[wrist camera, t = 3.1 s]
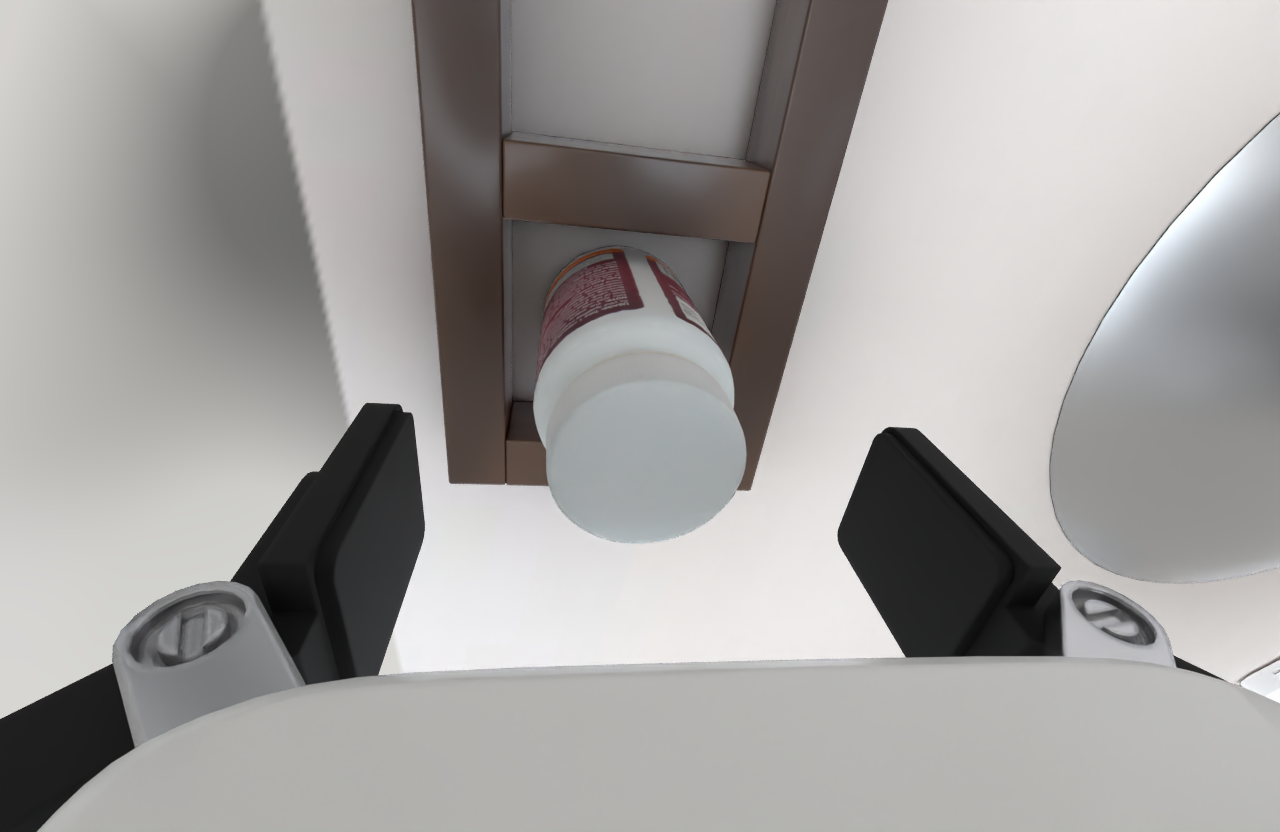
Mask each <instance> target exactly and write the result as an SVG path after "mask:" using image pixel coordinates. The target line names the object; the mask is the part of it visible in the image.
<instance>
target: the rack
mask: <svg viewBox="0 0 1280 832" xmlns="http://www.w3.org/2000/svg"><path fill="white" fill-rule="evenodd" d="M887 3H888V0H777V4H776V9H775V14H774V19H773V24H772V29H771V34H770V39H769V44H768V49H767V54H766V59H765V64H764V69H763V75H762V80H761V85H760V90H759V95H758V100H757V105H756V110H755V115H754V120H753V125H752V130H751V135H750V140H749V145H748V150H747V156H746V161H745V160H742V159H734V158H725V157H717V156H709V155H701V154H693V153H684V152H676V151H668V150H660V149H652V148H644V147H635V146H627V145H619V144H611V143H603V142H595V141H586V140H578V139H570V138H562V137H554V136H545V135H537V134H529V133H521V132H512V133H511V0H411V4H412V17H413V30H414V42H415V55H416V68H417V81H418V93H419V106H420V119H421V131H422V144H423V157H424V170H425V182H426V195H427V208H428V221H429V233H430V246H431V259H432V272H433V284H434V297H435V310H436V323H437V335H438V348H439V361H440V374H441V386H442V399H443V412H444V424H445V437H446V450H447V463H448V475H449V482H450V483H451V484H489V485H504V484H505V483H507V485H527V486H549V484H548V479H547V474H546V448H545V447H544V445H543V443H542V441H541V438H540V436H539V433H538V430H537V426H536V423H535V417H534V411H533V402H513V403H512V220H520V221H531V222H541V223H551V224H561V225H572V226H582V227H592V228H602V229H613V230H623V231H633V232H643V233H654V234H664V235H674V236H685V237H695V238H705V239H715V240H726V241H730V242H729V247H728V252H727V257H726V262H725V267H724V272H723V277H722V282H721V287H720V292H719V297H718V302H717V307H716V312H715V317H714V323H713V328H712V333H711V335H712V336H713V338H714V339H715V341H716V343H717V344H718V345H719V347H720V348H721V350H722V352H723V354H724V356H725V358H726V360H727V362H728V364H729V367H730V369H731V373H732V377H733V384H734V408H733V410H734V412H735V414H736V416H737V418H738V420H739V423H740V425H741V427H742V430H743V433H744V437H745V442H746V454H747V456H746V465H745V471H744V474H743V477H742V480H741V482H740V484H739V486H738V488H737V490H745V491H749V490H751V486H752V483H753V479H754V476H755V472H756V468H757V465H758V461H759V458H760V454H761V451H762V447H763V444H764V440H765V436H766V433H767V429H768V426H769V422H770V419H771V415H772V412H773V408H774V404H775V401H776V397H777V394H778V390H779V387H780V383H781V380H782V376H783V372H784V369H785V365H786V362H787V358H788V355H789V351H790V348H791V344H792V340H793V337H794V333H795V330H796V326H797V323H798V319H799V316H800V312H801V308H802V305H803V301H804V298H805V294H806V291H807V287H808V284H809V280H810V276H811V273H812V269H813V266H814V262H815V259H816V255H817V252H818V248H819V244H820V241H821V237H822V234H823V230H824V227H825V223H826V220H827V216H828V212H829V209H830V205H831V202H832V198H833V195H834V191H835V188H836V184H837V180H838V177H839V173H840V170H841V166H842V163H843V159H844V156H845V152H846V148H847V145H848V141H849V138H850V134H851V131H852V127H853V124H854V120H855V116H856V113H857V109H858V106H859V102H860V99H861V95H862V92H863V88H864V85H865V81H866V77H867V74H868V70H869V67H870V63H871V60H872V56H873V53H874V49H875V45H876V42H877V38H878V35H879V31H880V28H881V24H882V21H883V17H884V13H885V10H886V6H887Z"/></svg>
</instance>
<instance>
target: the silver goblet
mask: <svg viewBox="0 0 1280 832" xmlns="http://www.w3.org/2000/svg"><path fill="white" fill-rule="evenodd" d="M1050 482H1051V496H1052V500H1053V504H1054V509H1055V513H1056V517H1057V519H1058V521H1059V523H1060V525H1061V527H1062V529H1063V531H1064V533H1065V535H1066V537H1067V538H1068V539H1069V540H1070V542H1071V543H1072V544H1073V545H1074V546H1075V547H1076V549H1077V550H1078V551H1079V552H1080V553H1081V554H1083V555H1084V556H1085V557H1087V558H1088V559H1089V560H1091V561H1092V562H1093V563H1095V564H1096V565H1098V566H1100V567H1102V568H1104V569H1106V570H1108V571H1111V572H1113V573H1115V574H1118V575H1121V576H1125V577H1129V578H1132V579H1136V580H1142V581H1150V582H1158V583H1198V582H1209V581H1219V580H1224V579H1230V578H1236V577H1242V576H1247V575H1252V574H1256V573H1260V572H1264V571H1268V570H1272V569H1276V568H1280V115H1278V116H1277V117H1276V118H1275V119H1274V120H1273V121H1271V122H1270V123H1269V124H1268V125H1267V126H1266V127H1265V128H1264V129H1263V130H1262V131H1261V132H1260V133H1259V134H1258V135H1257V136H1256V137H1255V138H1254V139H1253V140H1252V141H1251V142H1250V143H1249V144H1248V145H1246V146H1245V147H1244V148H1243V149H1242V150H1241V151H1240V152H1239V153H1238V154H1237V155H1236V156H1235V157H1234V158H1233V159H1232V160H1231V161H1230V162H1229V163H1228V164H1227V165H1226V166H1225V167H1224V168H1223V169H1222V170H1221V171H1220V172H1219V173H1218V174H1217V175H1216V176H1215V177H1214V178H1213V179H1212V180H1211V181H1210V182H1209V183H1208V185H1207V186H1206V187H1205V188H1204V189H1203V190H1202V191H1201V192H1200V193H1199V195H1198V196H1197V197H1196V198H1195V199H1194V200H1193V201H1192V202H1191V203H1190V205H1189V206H1188V207H1187V208H1186V209H1185V210H1184V211H1183V212H1182V213H1181V215H1180V216H1179V217H1178V218H1177V219H1176V220H1175V221H1174V222H1173V223H1172V225H1171V226H1170V227H1169V228H1168V230H1167V231H1166V232H1165V234H1164V235H1163V236H1162V237H1161V239H1160V240H1159V241H1158V243H1157V244H1156V245H1155V246H1154V248H1153V249H1152V250H1151V252H1150V253H1149V254H1148V255H1147V257H1146V258H1145V259H1144V261H1143V262H1142V263H1141V264H1140V266H1139V267H1138V268H1137V270H1136V271H1135V272H1134V273H1133V275H1132V276H1131V278H1130V279H1129V281H1128V282H1127V284H1126V286H1125V287H1124V289H1123V290H1122V292H1121V293H1120V295H1119V296H1118V298H1117V299H1116V301H1115V302H1114V304H1113V305H1112V307H1111V308H1110V310H1109V311H1108V313H1107V314H1106V316H1105V317H1104V319H1103V321H1102V322H1101V324H1100V326H1099V328H1098V330H1097V332H1096V334H1095V335H1094V337H1093V339H1092V341H1091V343H1090V345H1089V347H1088V348H1087V350H1086V352H1085V354H1084V356H1083V358H1082V360H1081V361H1080V364H1079V366H1078V368H1077V371H1076V373H1075V376H1074V378H1073V380H1072V383H1071V385H1070V388H1069V390H1068V393H1067V395H1066V397H1065V400H1064V403H1063V406H1062V410H1061V413H1060V417H1059V420H1058V424H1057V427H1056V431H1055V435H1054V440H1053V448H1052V455H1051V463H1050Z"/></svg>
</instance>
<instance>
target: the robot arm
mask: <svg viewBox="0 0 1280 832" xmlns="http://www.w3.org/2000/svg"><path fill="white" fill-rule="evenodd" d="M424 531H425V521H424V512H423V502H422V493H421V484H420V474H419V465H418V456H417V447H416V437H415V428H414V420H413V415H412V413H408V412H403V410H402V407H401V406H400V405H399V404H380V403H366V404H365V405H364V406H363V407H362V409H361V410H360V412H359V413H358V415H357V416H356V418H355V419H354V421H353V422H352V424H351V425H350V427H349V428H348V430H347V431H346V433H345V434H344V436H343V437H342V439H341V440H340V442H339V443H338V445H337V446H336V448H335V449H334V450H333V452H332V453H331V455H330V456H329V458H328V460H327V461H326V462H325V464H324V465H323V467H322V468H321V470H320V471H319V472H310V473H308V474H307V475H306V476H305V477H304V478H303V479H302V480H301V482H300V483H299V484H298V486H297V487H296V489H295V490H294V492H293V493H292V495H291V496H290V497H289V499H288V500H287V501H286V503H285V504H284V506H283V507H282V509H281V510H280V511H279V513H278V514H277V516H276V517H275V518H274V520H273V521H272V523H271V524H270V526H269V527H268V529H267V530H266V531H265V533H264V534H263V535H262V537H261V538H260V540H259V541H258V543H257V544H256V545H255V547H254V548H253V550H252V551H251V553H250V554H249V555H248V557H247V558H246V560H245V561H244V562H243V564H242V565H241V567H240V568H239V570H238V571H237V572H236V574H235V575H234V577H233V579H231V581H230V582H226V581H216V582H209V583H202V584H197V585H194V586H190V587H187V588H184V589H181V590H178V591H175V592H173V593H171V594H169V595H167V596H165V597H163V598H161V599H159V600H157V601H155V602H153V603H152V604H151V605H149V606H148V607H147V608H145V609H144V610H142V611H141V612H139V613H138V614H137V615H135V616H134V617H133V619H132V620H131V621H130V622H129V623H128V624H127V625H126V626H125V627H124V628H123V629H122V630H121V632H120V634H119V636H118V637H117V639H116V641H115V643H114V645H113V654H112V662H113V664H111V665H109V666H107V667H105V668H103V669H101V670H98V671H96V672H95V673H92V674H90V675H89V676H86V677H84V678H83V679H80V680H78V681H76V682H74V683H72V684H70V685H68V686H66V687H64V688H62V689H60V690H58V691H56V692H54V693H52V694H50V695H48V696H46V697H44V698H42V699H40V700H38V701H36V702H34V703H32V704H30V705H28V706H26V707H24V708H22V709H20V710H18V711H16V712H14V713H12V714H10V715H8V716H6V717H4V718H2V719H0V832H1280V703H1278V702H1276V701H1274V700H1272V699H1269V698H1267V697H1265V696H1262V695H1260V694H1258V693H1256V692H1253V691H1251V690H1248V689H1246V688H1243V687H1241V686H1238V685H1235V684H1233V683H1230V682H1227V681H1225V680H1223V679H1221V678H1219V677H1217V676H1215V675H1213V674H1211V673H1209V672H1207V671H1205V670H1203V669H1201V668H1198V667H1196V666H1194V665H1192V664H1190V663H1188V662H1186V661H1184V660H1182V659H1180V658H1178V657H1176V656H1174V655H1173V652H1172V648H1171V645H1170V641H1169V638H1168V636H1167V634H1166V632H1165V630H1164V628H1163V627H1162V626H1161V625H1160V624H1159V623H1158V621H1157V620H1156V619H1155V618H1154V617H1153V616H1152V615H1151V614H1149V613H1148V612H1147V611H1146V610H1145V609H1143V608H1142V607H1141V606H1140V605H1138V604H1136V603H1135V602H1133V601H1132V600H1130V599H1129V598H1127V597H1126V596H1124V595H1122V594H1120V593H1118V592H1116V591H1114V590H1111V589H1109V588H1107V587H1104V586H1101V585H1098V584H1095V583H1091V582H1085V581H1069V582H1068V583H1066V584H1064V585H1063V586H1062V587H1061V589H1060V590H1059V589H1058V588H1057V587H1056V586H1055V585H1054V584H1053V583H1052V581H1053V579H1054V578H1055V576H1056V575H1057V574H1058V572H1059V571H1060V569H1061V567H1060V566H1059V565H1058V564H1057V563H1056V562H1055V561H1054V560H1053V559H1052V558H1051V557H1050V556H1049V555H1048V554H1047V553H1046V552H1045V551H1044V550H1043V549H1042V548H1041V547H1039V546H1038V545H1037V544H1036V543H1035V542H1034V541H1033V540H1032V539H1031V538H1030V537H1029V536H1028V535H1027V534H1026V533H1025V532H1024V531H1023V530H1022V529H1021V528H1020V527H1019V526H1018V525H1017V524H1016V523H1015V522H1014V521H1013V520H1011V519H1010V518H1009V517H1008V516H1007V515H1006V514H1005V513H1004V512H1003V511H1002V510H1001V509H1000V508H999V507H998V506H997V505H996V504H995V503H994V502H993V501H992V500H991V499H990V498H989V497H988V496H987V495H986V494H984V493H983V492H982V491H981V490H980V489H979V488H978V487H977V486H976V485H975V484H974V483H973V482H972V481H971V480H970V479H969V478H968V477H967V476H966V475H965V474H964V473H963V472H962V471H961V470H960V469H959V468H958V467H956V466H955V465H954V464H953V463H952V462H951V461H950V460H949V459H948V458H947V457H946V456H945V455H944V454H943V453H942V452H941V451H940V450H939V449H938V448H937V447H936V446H935V445H934V444H933V443H932V442H931V441H930V440H928V439H927V438H926V437H925V436H924V435H923V434H922V433H921V432H920V431H919V430H917V429H915V428H898V427H888V428H886V429H884V430H883V431H882V433H880V434H877V435H876V436H875V438H874V440H873V442H872V445H871V447H870V450H869V452H868V455H867V457H866V460H865V463H864V465H863V468H862V470H861V473H860V475H859V478H858V480H857V483H856V485H855V488H854V490H853V493H852V496H851V498H850V501H849V503H848V506H847V508H846V511H845V513H844V516H843V518H842V521H841V523H840V526H839V529H838V542H839V545H840V547H841V549H842V551H843V552H844V554H845V556H846V557H847V559H848V561H849V562H850V564H851V566H852V567H853V569H854V571H855V573H856V574H857V576H858V578H859V579H860V581H861V583H862V584H863V586H864V588H865V589H866V591H867V593H868V594H869V596H870V598H871V599H872V601H873V603H874V604H875V606H876V608H877V610H878V611H879V613H880V615H881V616H882V618H883V620H884V621H885V623H886V625H887V626H888V628H889V630H890V631H891V633H892V635H893V636H894V638H895V640H896V641H897V643H898V645H899V647H900V648H901V650H902V652H903V653H904V655H905V657H906V658H858V659H814V660H771V661H731V662H691V663H655V664H622V665H588V666H555V667H522V668H500V669H478V670H457V671H435V672H414V673H402V674H391V675H379V676H378V674H379V671H380V668H381V665H382V662H383V659H384V656H385V653H386V650H387V647H388V644H389V641H390V638H391V635H392V632H393V629H394V626H395V623H396V620H397V617H398V614H399V611H400V608H401V605H402V602H403V599H404V596H405V593H406V590H407V587H408V584H409V581H410V578H411V575H412V572H413V569H414V566H415V563H416V560H417V558H418V555H419V552H420V549H421V546H422V542H423V538H424Z"/></svg>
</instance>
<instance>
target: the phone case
mask: <svg viewBox="0 0 1280 832" xmlns="http://www.w3.org/2000/svg"><path fill="white" fill-rule="evenodd" d="M1279 670H1280V660H1278V661H1276V662H1274V663H1273V664H1271V665H1269V666H1267V667H1265V668H1263V669H1261V670H1259V671H1257V672H1255V673H1253V674H1252V675H1250V676H1248V677H1247V678H1245V679H1244V680H1243V681H1242V682H1241V683H1240V684H1241V686H1243V687H1244V688H1246V689H1248V690H1251V691H1253V692H1256V693H1258V694H1260V695H1262V696H1265V697H1267V698H1269V699H1272V700H1274V701H1276V702H1278V703H1280V672H1279V673H1277V674H1274V673H1275V672H1277V671H1279Z"/></svg>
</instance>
